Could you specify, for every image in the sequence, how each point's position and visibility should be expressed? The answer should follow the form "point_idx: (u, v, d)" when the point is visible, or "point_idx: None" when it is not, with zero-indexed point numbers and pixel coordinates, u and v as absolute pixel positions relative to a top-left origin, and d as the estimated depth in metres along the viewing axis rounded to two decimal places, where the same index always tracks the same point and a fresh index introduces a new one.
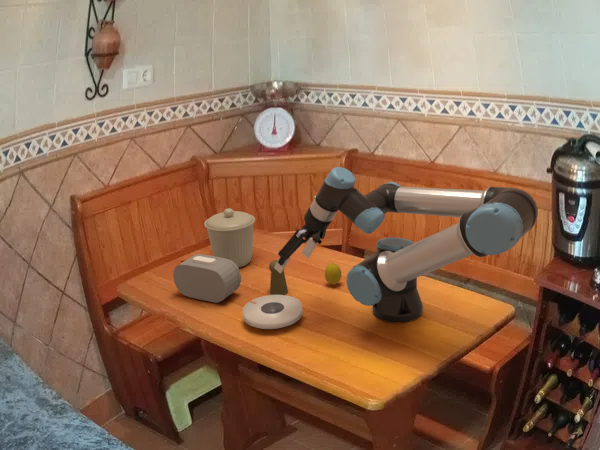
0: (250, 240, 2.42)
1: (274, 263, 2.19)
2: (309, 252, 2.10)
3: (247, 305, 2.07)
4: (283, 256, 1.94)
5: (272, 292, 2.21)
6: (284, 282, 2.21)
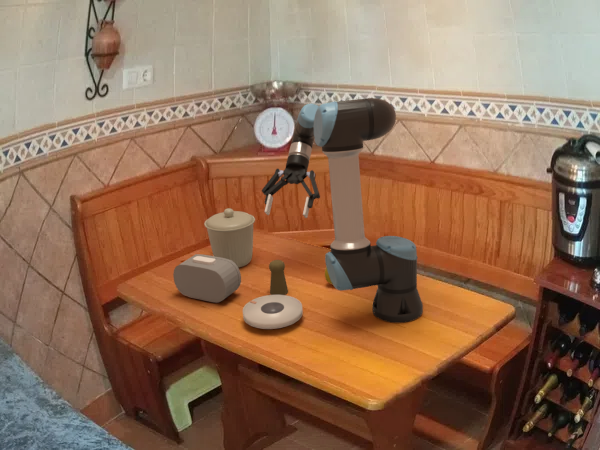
0: (250, 240, 2.42)
1: (274, 263, 2.19)
2: None
3: (247, 305, 2.07)
4: None
5: (272, 292, 2.21)
6: (284, 282, 2.21)
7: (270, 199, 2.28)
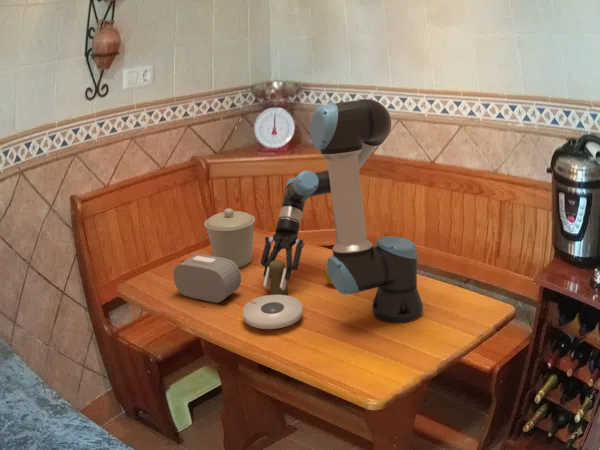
0: (250, 240, 2.42)
1: (274, 263, 2.19)
2: None
3: (247, 305, 2.07)
4: None
5: (272, 292, 2.21)
6: None
7: (269, 272, 2.21)
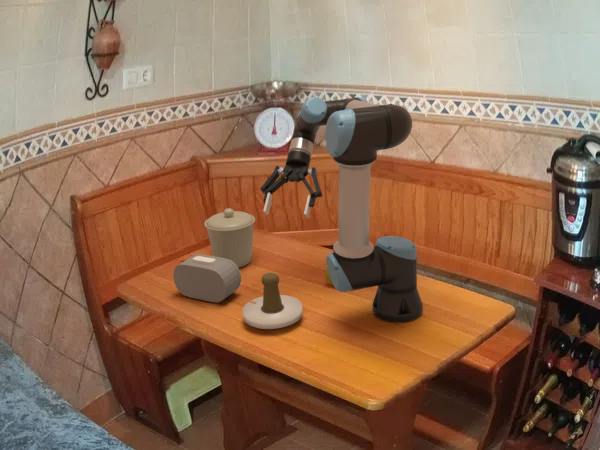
0: (250, 240, 2.42)
1: (267, 276, 1.99)
2: None
3: (247, 305, 2.07)
4: None
5: (265, 308, 2.02)
6: (278, 297, 2.02)
7: (269, 198, 2.15)
